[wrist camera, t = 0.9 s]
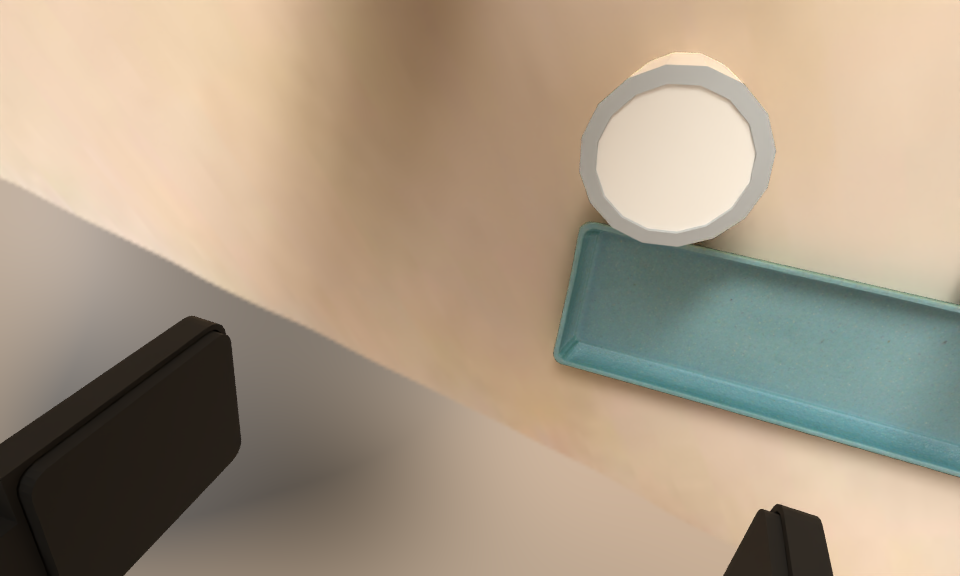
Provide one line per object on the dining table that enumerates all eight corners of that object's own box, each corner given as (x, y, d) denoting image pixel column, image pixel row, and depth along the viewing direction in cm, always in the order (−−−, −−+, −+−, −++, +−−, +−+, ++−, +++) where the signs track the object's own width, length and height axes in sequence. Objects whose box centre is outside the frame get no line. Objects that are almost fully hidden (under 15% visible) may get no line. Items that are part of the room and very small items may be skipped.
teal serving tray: (557, 343, 36) (549, 367, 34) (587, 204, 32) (579, 223, 30) (1052, 476, 31) (1077, 513, 29) (1178, 332, 26) (1219, 366, 24)
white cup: (759, 180, 28) (775, 243, 22) (610, 193, 31) (589, 253, 25) (760, 22, 25) (777, 47, 19) (594, 51, 28) (566, 81, 22)
